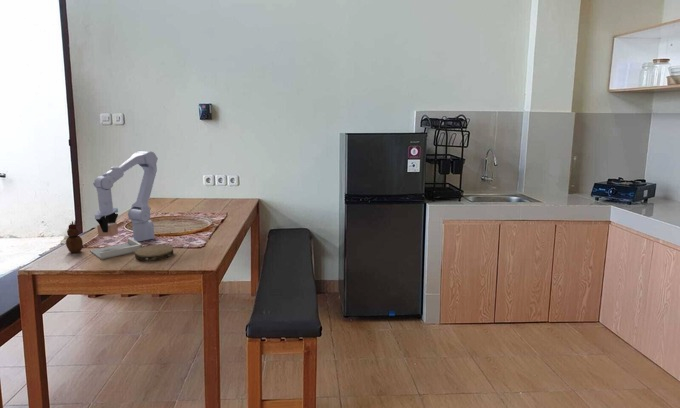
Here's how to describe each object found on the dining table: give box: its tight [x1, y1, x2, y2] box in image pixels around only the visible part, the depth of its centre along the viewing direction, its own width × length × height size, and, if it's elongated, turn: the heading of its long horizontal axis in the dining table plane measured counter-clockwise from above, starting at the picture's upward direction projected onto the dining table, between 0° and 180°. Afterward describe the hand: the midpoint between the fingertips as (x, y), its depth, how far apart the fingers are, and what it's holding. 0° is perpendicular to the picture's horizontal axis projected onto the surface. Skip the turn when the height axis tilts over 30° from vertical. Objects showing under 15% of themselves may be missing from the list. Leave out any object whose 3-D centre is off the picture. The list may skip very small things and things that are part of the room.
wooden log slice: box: [134, 244, 174, 263], centre depth 213 cm, size 16×16×3 cm
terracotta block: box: [96, 222, 119, 237], centre depth 223 cm, size 4×7×5 cm, turn 81°
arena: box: [89, 237, 143, 260], centre depth 220 cm, size 18×16×3 cm
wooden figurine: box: [65, 219, 84, 254], centre depth 218 cm, size 7×6×15 cm
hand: (108, 230), depth 223 cm, fingers closed on terracotta block, 4 cm apart
